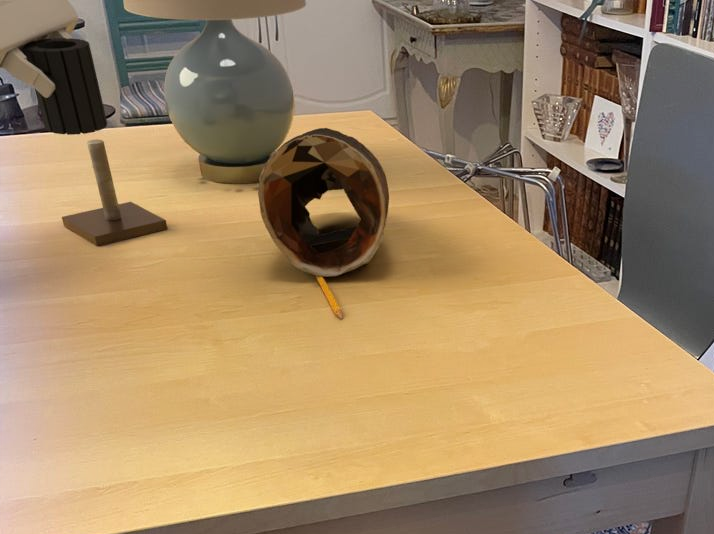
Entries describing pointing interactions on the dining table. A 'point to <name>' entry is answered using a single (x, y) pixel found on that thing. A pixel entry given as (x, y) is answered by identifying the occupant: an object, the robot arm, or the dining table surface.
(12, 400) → the dining table surface
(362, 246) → the clay pot
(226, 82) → the lamp
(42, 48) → the ribbed black tube
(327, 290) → the pencil
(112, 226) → the peg stand
